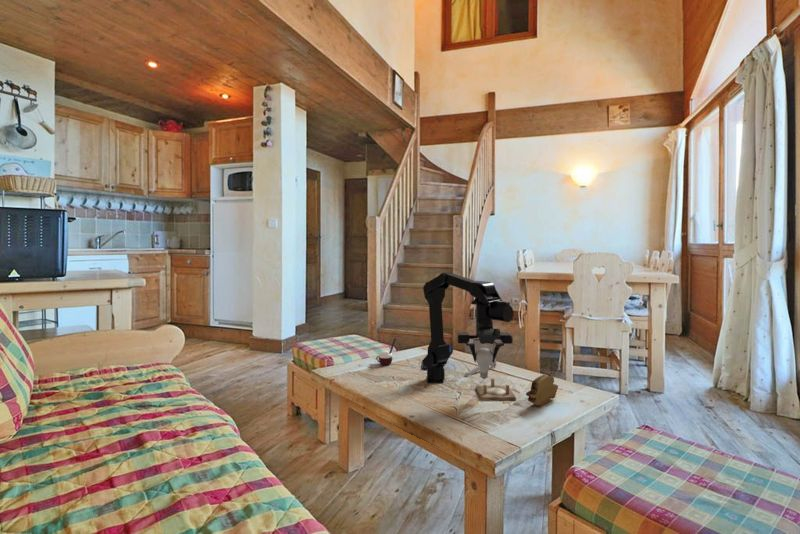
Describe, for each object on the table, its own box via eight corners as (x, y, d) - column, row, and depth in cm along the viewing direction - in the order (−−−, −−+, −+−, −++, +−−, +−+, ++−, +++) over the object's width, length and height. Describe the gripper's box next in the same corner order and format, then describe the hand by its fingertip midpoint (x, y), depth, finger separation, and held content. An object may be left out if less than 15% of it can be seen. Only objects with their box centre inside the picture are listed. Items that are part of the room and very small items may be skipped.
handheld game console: (424, 360, 199) (423, 341, 198) (452, 361, 197) (452, 341, 197) (422, 370, 183) (421, 349, 183) (453, 371, 182) (453, 350, 181)
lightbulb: (473, 376, 153) (473, 346, 152) (490, 375, 153) (490, 345, 152) (477, 381, 147) (477, 350, 146) (494, 381, 147) (495, 350, 146)
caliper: (494, 367, 188) (494, 353, 188) (496, 367, 187) (496, 353, 187) (464, 376, 174) (464, 361, 174) (466, 377, 174) (466, 362, 173)
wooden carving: (546, 395, 152) (546, 368, 151) (558, 399, 149) (559, 371, 148) (523, 408, 140) (523, 379, 140) (535, 412, 137) (536, 382, 137)
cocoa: (374, 364, 193) (372, 338, 192) (384, 361, 198) (382, 336, 197) (389, 368, 187) (387, 341, 186) (399, 364, 191) (397, 338, 191)
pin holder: (481, 400, 148) (481, 388, 148) (476, 388, 160) (476, 377, 160) (515, 400, 148) (515, 388, 148) (508, 388, 160) (508, 377, 160)
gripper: (459, 322, 141) (459, 368, 142) (516, 322, 140) (515, 369, 141) (456, 316, 152) (456, 359, 153) (509, 316, 151) (509, 359, 152)
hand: (484, 362), depth 150 cm, fingers closed on lightbulb, 6 cm apart
